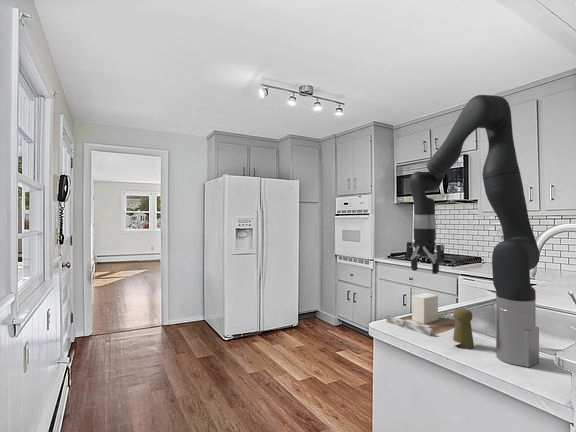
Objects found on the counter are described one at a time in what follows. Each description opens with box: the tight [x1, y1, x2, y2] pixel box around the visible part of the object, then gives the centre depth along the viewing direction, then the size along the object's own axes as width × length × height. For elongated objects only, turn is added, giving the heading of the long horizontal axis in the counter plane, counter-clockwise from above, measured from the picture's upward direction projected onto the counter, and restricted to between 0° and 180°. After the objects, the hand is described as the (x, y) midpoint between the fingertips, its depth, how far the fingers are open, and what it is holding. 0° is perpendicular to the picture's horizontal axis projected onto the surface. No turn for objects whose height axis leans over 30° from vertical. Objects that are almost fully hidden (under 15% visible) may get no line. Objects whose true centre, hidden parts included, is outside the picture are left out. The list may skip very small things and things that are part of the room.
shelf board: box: [385, 314, 456, 337], centre depth 126 cm, size 18×20×4 cm
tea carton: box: [411, 292, 439, 324], centre depth 129 cm, size 8×5×9 cm, turn 123°
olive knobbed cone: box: [452, 308, 475, 350], centre depth 109 cm, size 6×6×11 cm
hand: (424, 271), depth 129 cm, fingers open, 8 cm apart
